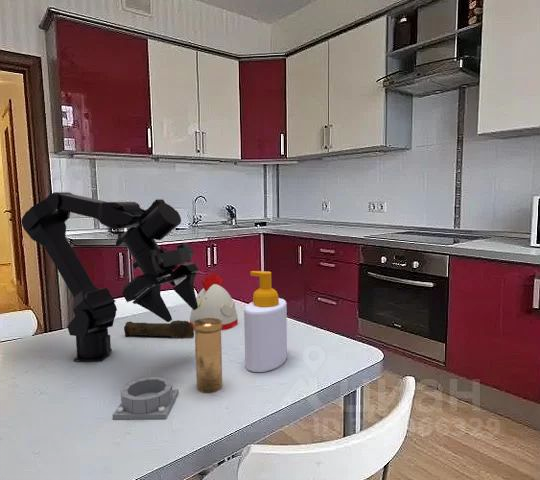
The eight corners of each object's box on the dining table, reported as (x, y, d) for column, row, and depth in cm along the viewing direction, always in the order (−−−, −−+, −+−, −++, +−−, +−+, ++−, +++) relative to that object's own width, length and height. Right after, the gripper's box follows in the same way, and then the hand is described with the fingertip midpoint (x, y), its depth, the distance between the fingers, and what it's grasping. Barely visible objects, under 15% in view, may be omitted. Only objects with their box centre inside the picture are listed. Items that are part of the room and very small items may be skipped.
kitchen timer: (180, 326, 117) (178, 275, 116) (212, 314, 128) (211, 268, 127) (215, 334, 109) (214, 280, 108) (247, 321, 120) (246, 272, 119)
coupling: (193, 393, 76) (190, 326, 75) (198, 380, 82) (196, 318, 80) (221, 393, 76) (219, 326, 75) (225, 380, 82) (223, 317, 80)
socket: (112, 419, 68) (111, 400, 67) (131, 393, 77) (130, 376, 76) (166, 418, 68) (165, 400, 67) (178, 393, 77) (178, 376, 76)
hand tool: (123, 338, 108) (122, 321, 108) (131, 333, 112) (130, 317, 111) (189, 342, 104) (189, 324, 104) (195, 337, 108) (194, 320, 108)
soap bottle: (263, 348, 99) (262, 266, 96) (295, 353, 95) (294, 268, 93) (236, 369, 87) (233, 276, 85) (270, 376, 83) (268, 279, 81)
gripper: (139, 235, 74) (183, 307, 72) (196, 227, 91) (232, 285, 89) (104, 267, 79) (144, 336, 76) (164, 254, 96) (198, 310, 93)
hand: (183, 314), depth 84 cm, fingers open, 9 cm apart
